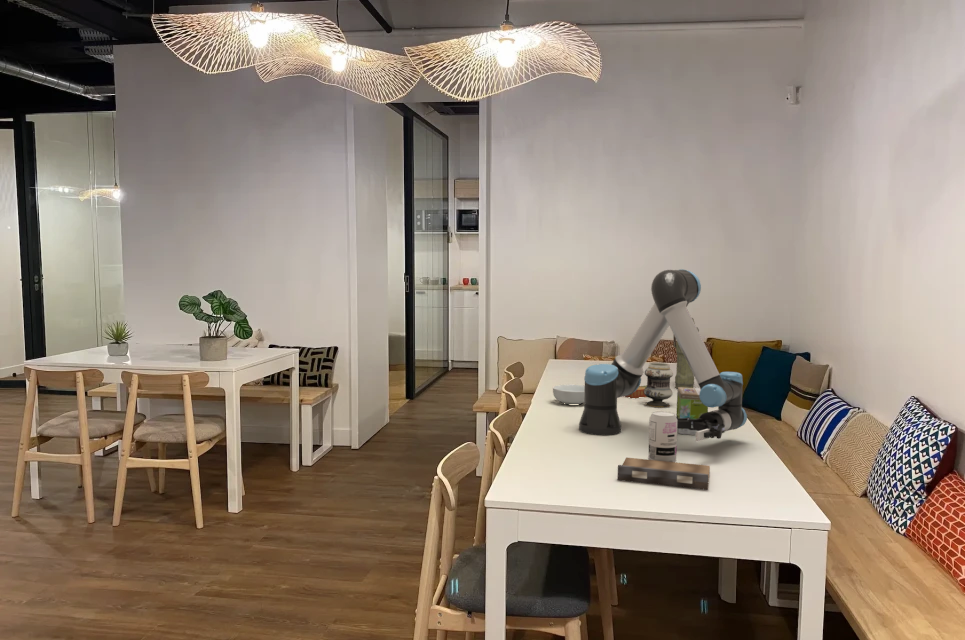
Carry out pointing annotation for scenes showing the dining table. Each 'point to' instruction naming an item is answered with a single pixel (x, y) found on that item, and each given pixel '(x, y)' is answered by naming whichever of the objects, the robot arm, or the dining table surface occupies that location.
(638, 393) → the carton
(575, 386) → the cereal bowl
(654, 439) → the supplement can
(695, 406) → the tea box
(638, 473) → the shelf
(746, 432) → the dining table surface
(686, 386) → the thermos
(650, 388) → the apothecary jar
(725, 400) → the robot arm
